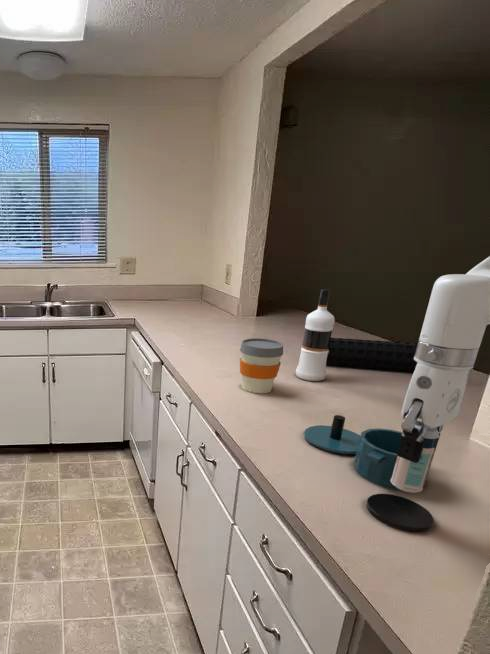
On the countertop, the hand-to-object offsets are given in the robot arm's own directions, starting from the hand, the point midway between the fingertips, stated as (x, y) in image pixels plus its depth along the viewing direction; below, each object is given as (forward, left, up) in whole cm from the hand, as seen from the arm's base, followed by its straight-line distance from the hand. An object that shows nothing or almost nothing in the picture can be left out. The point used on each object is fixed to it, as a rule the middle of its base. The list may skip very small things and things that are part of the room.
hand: (415, 453), depth 75 cm
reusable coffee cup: (+56, -31, -13) cm, 65 cm away
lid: (+22, -17, -12) cm, 30 cm away
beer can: (0, 0, -7) cm, 7 cm away
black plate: (0, 0, -13) cm, 13 cm away
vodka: (+53, -55, -13) cm, 77 cm away
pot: (+8, -13, -13) cm, 20 cm away
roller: (+51, -81, -13) cm, 97 cm away
